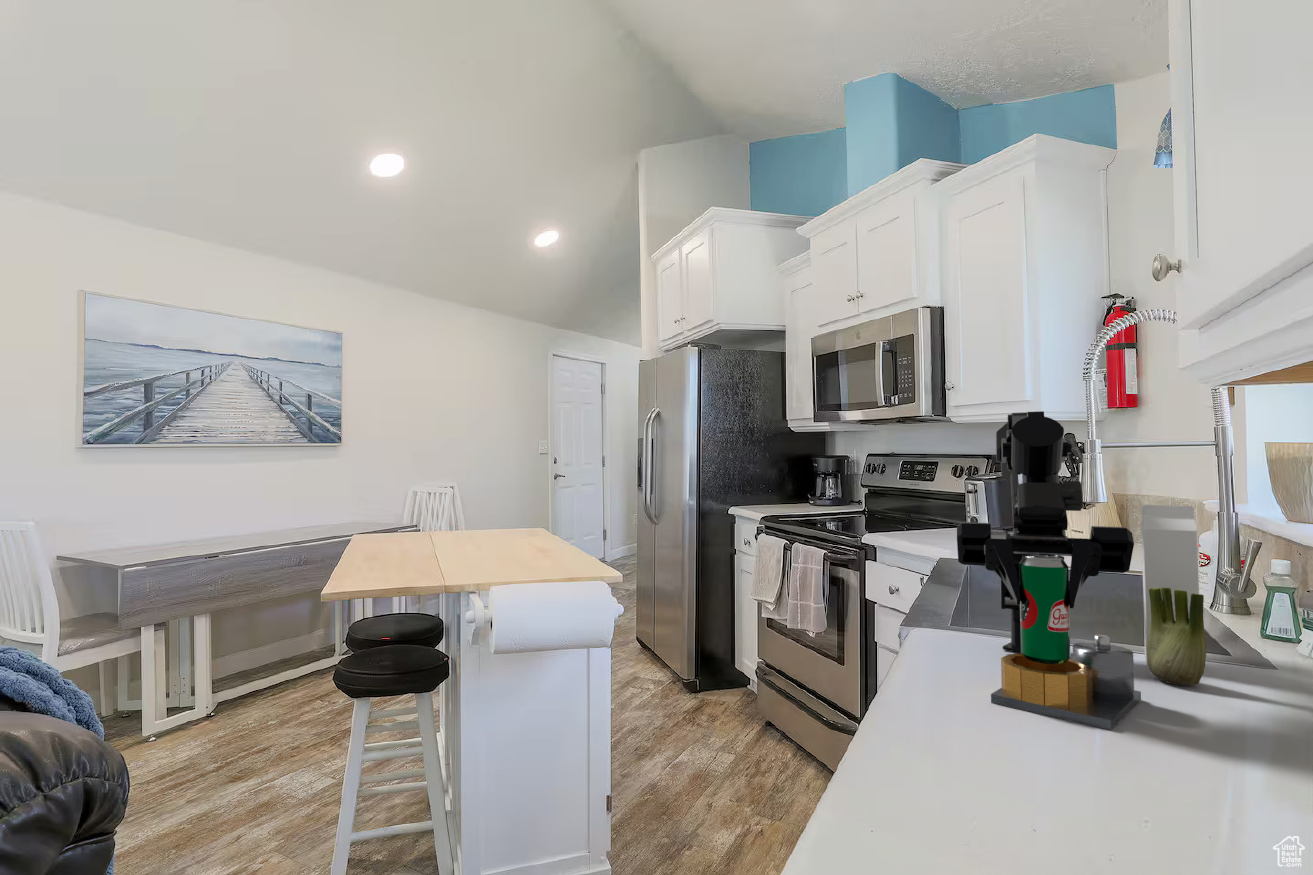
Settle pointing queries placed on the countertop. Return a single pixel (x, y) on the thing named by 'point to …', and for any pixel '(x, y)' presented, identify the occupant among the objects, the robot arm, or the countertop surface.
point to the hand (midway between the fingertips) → (1044, 604)
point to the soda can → (1044, 608)
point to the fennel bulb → (1176, 637)
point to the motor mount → (1073, 684)
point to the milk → (1168, 554)
